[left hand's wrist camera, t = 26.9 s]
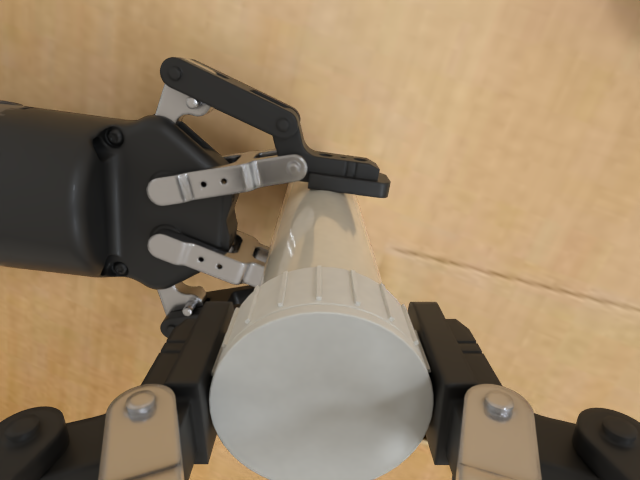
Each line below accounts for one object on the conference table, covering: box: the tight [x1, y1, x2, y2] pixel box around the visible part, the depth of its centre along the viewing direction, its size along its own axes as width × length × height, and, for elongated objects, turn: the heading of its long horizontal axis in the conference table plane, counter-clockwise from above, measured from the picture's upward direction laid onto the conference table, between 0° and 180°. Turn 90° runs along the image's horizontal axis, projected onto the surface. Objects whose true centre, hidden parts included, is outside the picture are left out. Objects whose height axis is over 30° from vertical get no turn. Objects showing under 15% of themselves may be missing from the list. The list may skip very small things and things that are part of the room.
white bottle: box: [259, 181, 383, 286], centre depth 19 cm, size 4×4×18 cm
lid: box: [209, 265, 434, 480], centre depth 10 cm, size 5×5×2 cm
